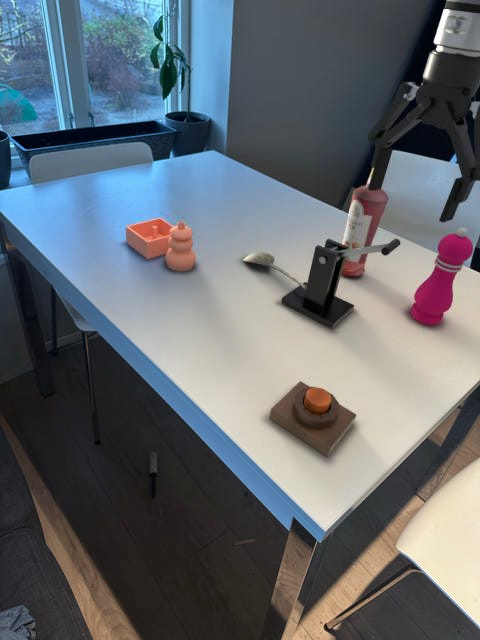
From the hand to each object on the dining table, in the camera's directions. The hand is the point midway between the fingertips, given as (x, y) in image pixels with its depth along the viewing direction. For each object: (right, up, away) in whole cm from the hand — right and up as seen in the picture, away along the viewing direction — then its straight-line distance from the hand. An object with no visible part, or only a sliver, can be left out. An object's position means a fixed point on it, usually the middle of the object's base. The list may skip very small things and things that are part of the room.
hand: (408, 203), depth 72 cm
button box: (-16, -34, -5) cm, 38 cm away
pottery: (-44, -4, +31) cm, 54 cm away
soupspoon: (-19, -9, +26) cm, 33 cm away
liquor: (-2, -8, +32) cm, 33 cm away
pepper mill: (+11, -18, +21) cm, 30 cm away
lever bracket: (-11, -16, +20) cm, 28 cm away
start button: (-16, -31, -7) cm, 36 cm away
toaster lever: (-6, -7, +9) cm, 13 cm away
